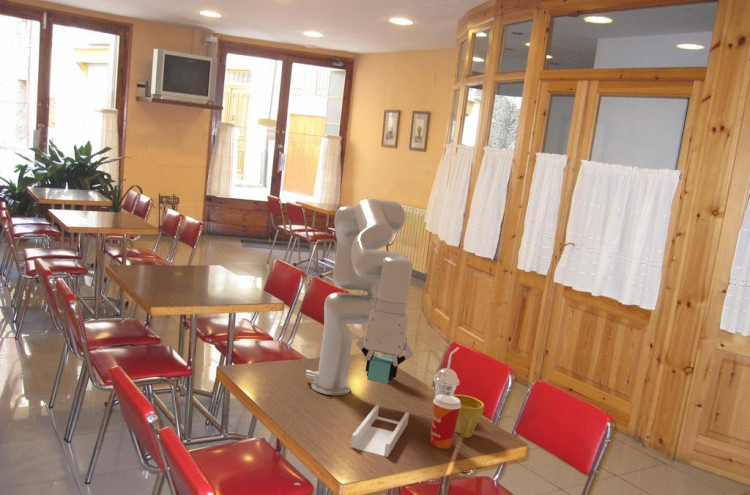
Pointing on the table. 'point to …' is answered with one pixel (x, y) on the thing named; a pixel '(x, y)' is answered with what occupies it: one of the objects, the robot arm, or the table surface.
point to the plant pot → (468, 415)
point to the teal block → (379, 369)
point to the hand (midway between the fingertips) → (380, 376)
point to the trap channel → (377, 434)
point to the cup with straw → (446, 379)
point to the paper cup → (444, 420)
